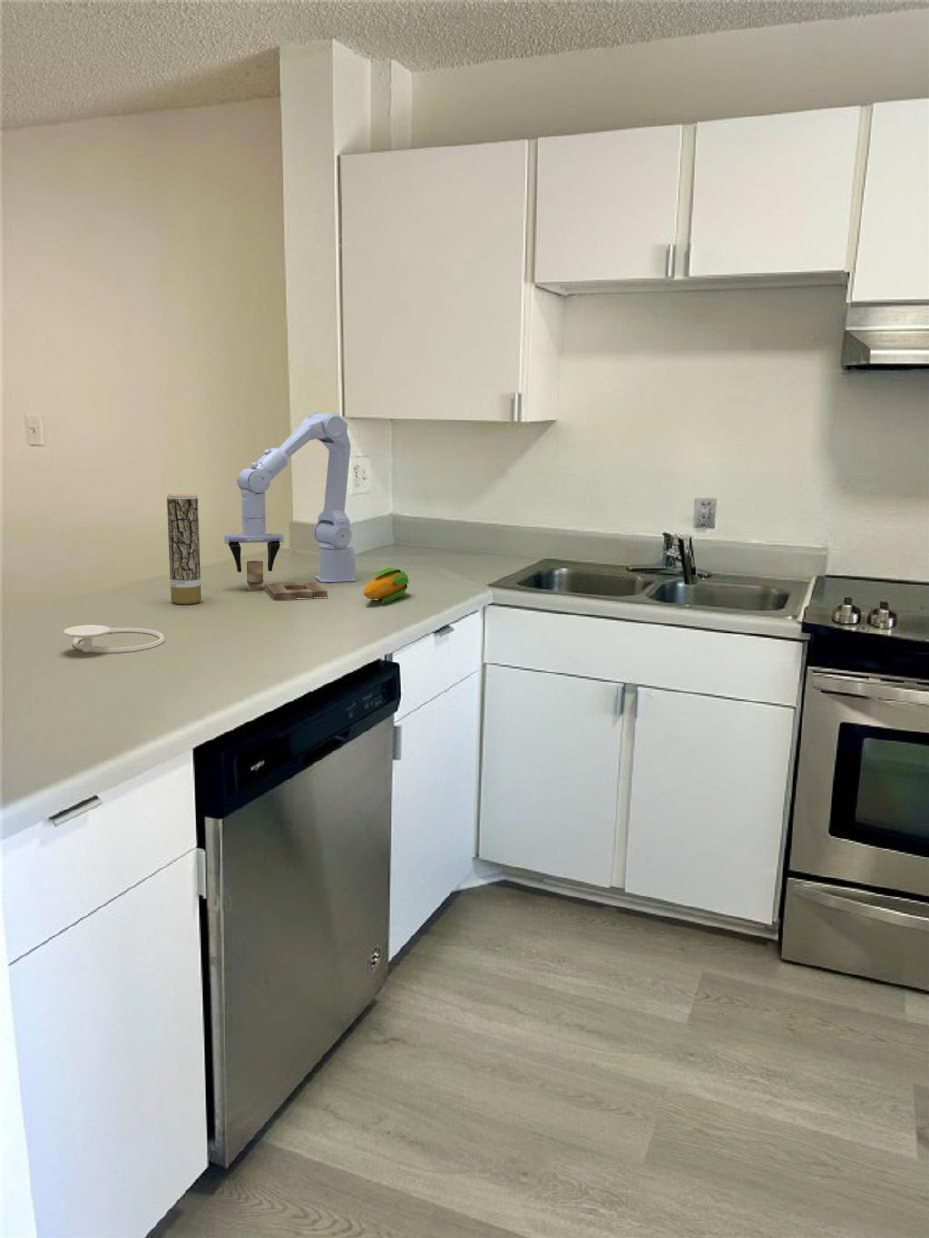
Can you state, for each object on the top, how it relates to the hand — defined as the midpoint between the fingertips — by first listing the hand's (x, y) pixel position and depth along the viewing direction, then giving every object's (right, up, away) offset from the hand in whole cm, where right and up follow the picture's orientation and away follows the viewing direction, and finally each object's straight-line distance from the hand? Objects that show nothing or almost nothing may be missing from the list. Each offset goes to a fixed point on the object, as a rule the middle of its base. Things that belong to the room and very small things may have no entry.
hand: (254, 571), depth 231 cm
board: (+11, -6, -4) cm, 13 cm away
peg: (0, -5, +1) cm, 5 cm away
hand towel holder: (-15, -17, -54) cm, 59 cm away
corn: (+34, -8, -7) cm, 35 cm away
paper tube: (-12, -8, -16) cm, 22 cm away
